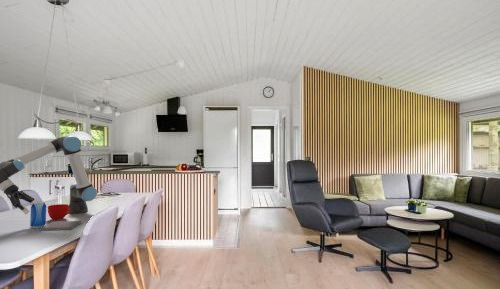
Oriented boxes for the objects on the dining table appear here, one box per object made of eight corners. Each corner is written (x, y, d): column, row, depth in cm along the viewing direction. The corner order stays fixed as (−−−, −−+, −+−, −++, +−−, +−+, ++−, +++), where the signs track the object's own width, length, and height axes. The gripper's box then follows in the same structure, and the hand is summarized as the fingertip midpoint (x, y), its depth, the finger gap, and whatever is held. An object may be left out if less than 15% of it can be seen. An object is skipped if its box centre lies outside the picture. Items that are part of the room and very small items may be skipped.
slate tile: (53, 223, 205) (53, 221, 205) (81, 223, 208) (81, 220, 208) (40, 230, 187) (40, 228, 187) (71, 229, 191) (71, 227, 191)
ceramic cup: (62, 222, 209) (63, 208, 210) (42, 220, 213) (43, 206, 213) (76, 218, 222) (77, 205, 222) (57, 216, 226) (58, 203, 226)
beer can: (29, 226, 196) (30, 202, 197) (44, 224, 202) (45, 201, 202) (30, 229, 190) (31, 204, 190) (46, 227, 195) (47, 203, 196)
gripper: (15, 189, 204) (38, 210, 207) (-9, 194, 180) (17, 219, 182) (24, 181, 205) (47, 203, 208) (1, 186, 181) (27, 210, 183)
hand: (33, 210), depth 195 cm, fingers open, 13 cm apart
